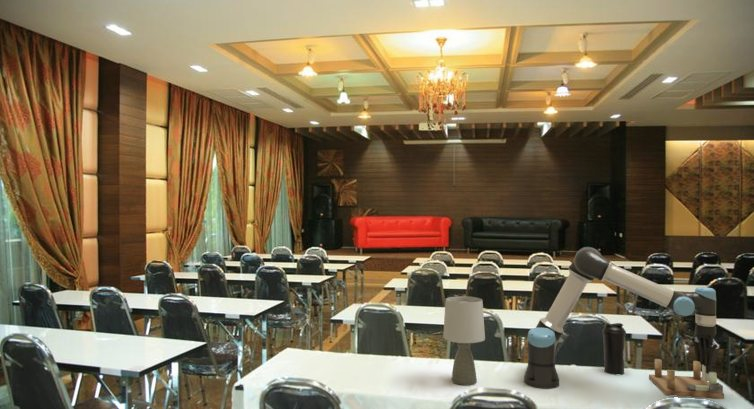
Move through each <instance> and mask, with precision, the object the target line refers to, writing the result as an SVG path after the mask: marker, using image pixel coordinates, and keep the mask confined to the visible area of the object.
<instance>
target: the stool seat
mask: <svg viewBox="0 0 754 409" xmlns="http://www.w3.org/2000/svg"><path fill="white" fill-rule="evenodd" d="M662 362H663V361H662V359H660V358H655V359H654V374H648V380H650V381H651V382H652V384H654V385H655V386H656V387H657V388H658V389H659V390H660V391H661V392H662V394H664V395H665V396H667V395H677V396H676V397H686V396H691V397H690V398H701V397H705V398H706V399H719V400H724V399H725V394H724V386H723V384H721V383H720V382H718V381H717V385H709V381H703V380H702V371H701V364H700V362H698V361H697V360H693V361H692V362H693V363H692V364H693V369H692V370H693V371H692V372H693V373H692V374H693V376H687V375H686V376H685V375H675V372H676V371H675V369H667V370H666V375H665V374H663V370H662V369H663V365H662V364H663V363H662ZM688 384H692V385H707V386H709V391H692V390H688V389H687V385H688ZM705 398H704V399H705Z"/></svg>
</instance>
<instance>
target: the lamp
mask: <svg viewBox="0 0 754 409" xmlns="http://www.w3.org/2000/svg"><path fill="white" fill-rule="evenodd" d="M444 304H445V305H444V320H443V333H442V334H443V335H442V336H443V340H446V341H448V342H451V343H457V347H458V348H457V351H456V353H455V357H454V360H453V367H452V370H451V371H452V372H451V382H452V383H453V384H455V385H459V386H472V385H475V384H476V383H477V382H478V379H477V371H476V365H475V360H474V357H473V353H472V351H471V346H472V344H477V343H482V342H484V341H485V340H486V334H485V333H486V332H485V320H484V319H485V318H484V317H485V316H484V304H483V299H482V298H480V297H476V296H449V297H447V298H445V302H444Z"/></svg>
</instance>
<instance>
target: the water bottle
mask: <svg viewBox="0 0 754 409" xmlns="http://www.w3.org/2000/svg"><path fill="white" fill-rule="evenodd" d="M623 326H624V324H623V323H620V322H616V323H609V322H605V323H604V327H603V328H602V329H601V330H602V336H603V360H604V364H603V366H604V372H605V373H606V374H610V375H615V376H617V375H616V374H621V375H623V373H624V374H625V355H626V336H627V332H626V331H627V330H625V328H624V327H623Z"/></svg>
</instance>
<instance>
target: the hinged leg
mask: <svg viewBox="0 0 754 409" xmlns="http://www.w3.org/2000/svg"><path fill="white" fill-rule="evenodd" d="M717 375H718V374H717V372H715V371H711V372H709V381H708V382H709V385H717V382H718V381H717V380H718V379H717V378H718V376H717ZM687 389H688V390H692V391H709V386H707V385H692V384H688V385H687Z"/></svg>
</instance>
